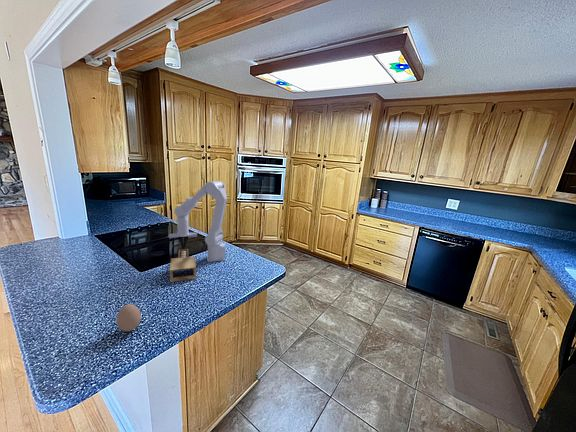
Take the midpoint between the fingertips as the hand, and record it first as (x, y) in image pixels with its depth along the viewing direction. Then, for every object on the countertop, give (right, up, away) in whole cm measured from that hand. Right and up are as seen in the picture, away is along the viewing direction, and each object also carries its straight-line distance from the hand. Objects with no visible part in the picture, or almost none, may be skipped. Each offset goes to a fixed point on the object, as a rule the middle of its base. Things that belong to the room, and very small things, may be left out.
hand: (183, 248), depth 136 cm
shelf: (+10, -9, -22) cm, 26 cm away
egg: (+8, -19, -58) cm, 62 cm away
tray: (+4, -6, -10) cm, 12 cm away
